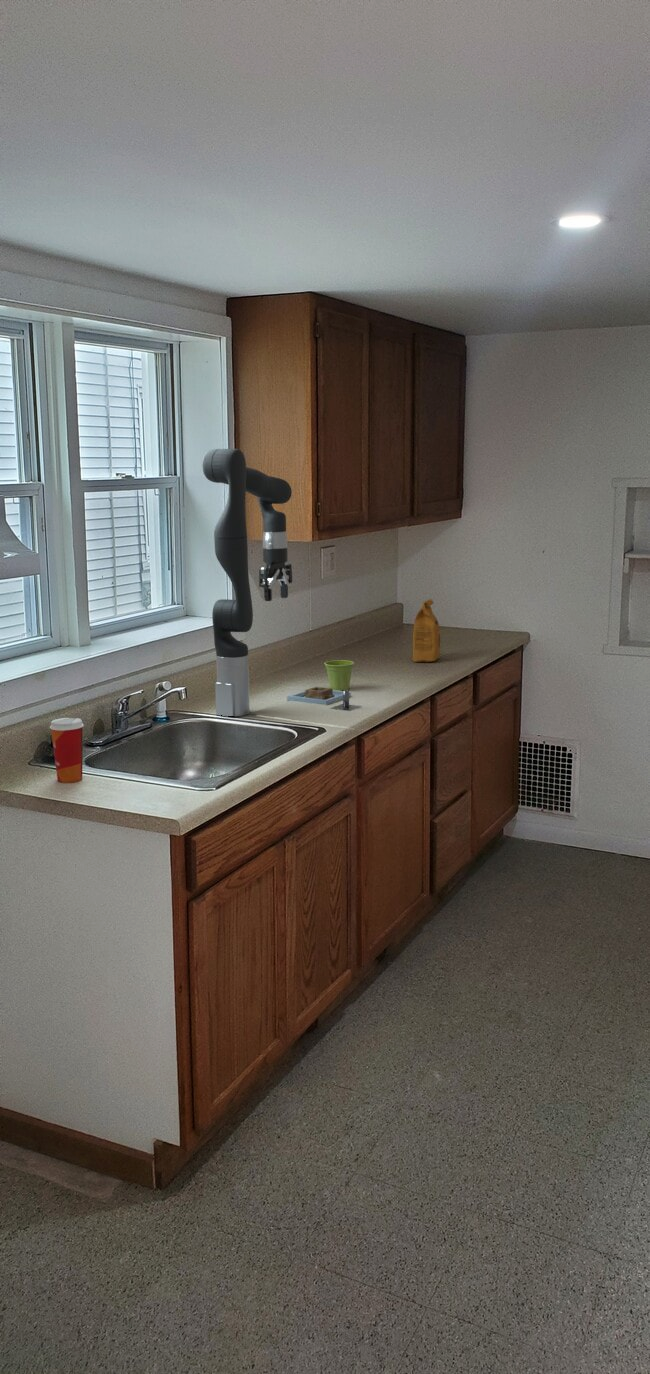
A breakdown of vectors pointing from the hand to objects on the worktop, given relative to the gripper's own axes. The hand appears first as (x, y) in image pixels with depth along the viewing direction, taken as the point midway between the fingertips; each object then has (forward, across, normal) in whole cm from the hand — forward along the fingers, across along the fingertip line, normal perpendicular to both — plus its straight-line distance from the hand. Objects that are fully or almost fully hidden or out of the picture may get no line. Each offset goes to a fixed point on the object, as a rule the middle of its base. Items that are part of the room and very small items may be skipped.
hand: (276, 599), depth 340 cm
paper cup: (+30, +102, +13) cm, 107 cm away
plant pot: (+30, -17, +12) cm, 37 cm away
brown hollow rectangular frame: (+30, +1, +16) cm, 34 cm away
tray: (+30, +1, +16) cm, 34 cm away
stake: (+30, +8, +30) cm, 43 cm away
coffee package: (+30, -77, +12) cm, 84 cm away
